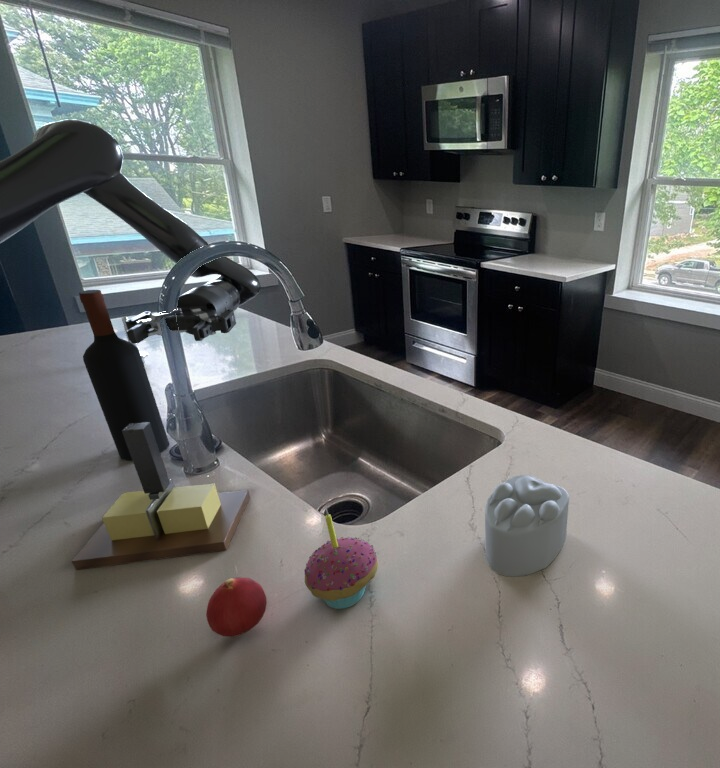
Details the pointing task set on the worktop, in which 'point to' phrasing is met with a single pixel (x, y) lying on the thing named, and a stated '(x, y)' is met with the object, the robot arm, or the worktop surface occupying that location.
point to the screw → (143, 354)
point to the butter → (163, 512)
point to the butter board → (166, 539)
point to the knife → (149, 469)
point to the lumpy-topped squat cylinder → (525, 525)
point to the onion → (236, 607)
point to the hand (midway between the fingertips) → (164, 336)
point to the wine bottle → (119, 377)
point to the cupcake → (340, 569)
